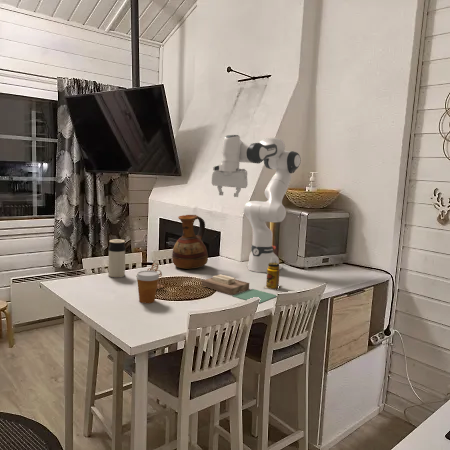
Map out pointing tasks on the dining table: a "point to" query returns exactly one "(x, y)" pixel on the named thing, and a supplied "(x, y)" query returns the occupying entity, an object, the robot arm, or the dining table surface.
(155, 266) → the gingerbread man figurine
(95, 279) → the dining table surface
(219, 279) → the tile
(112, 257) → the travel mug
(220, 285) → the board
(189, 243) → the ceramic pitcher
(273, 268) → the condiment
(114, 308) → the dining table surface
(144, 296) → the disposable coffee cup
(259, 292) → the mat
